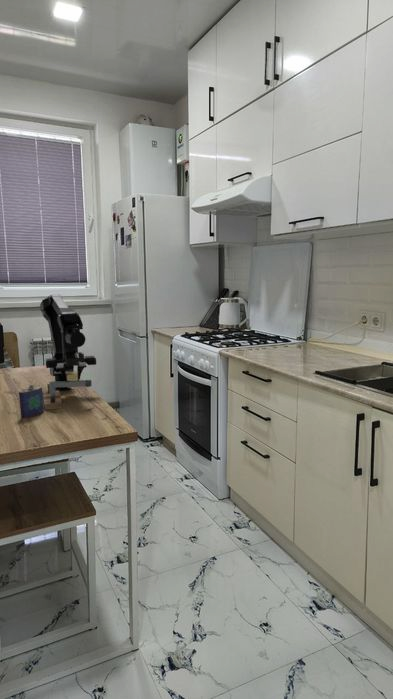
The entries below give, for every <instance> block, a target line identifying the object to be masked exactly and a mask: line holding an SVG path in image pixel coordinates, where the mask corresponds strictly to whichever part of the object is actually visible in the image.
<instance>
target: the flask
mask: <svg viewBox="0 0 393 699" xmlns="http://www.w3.org/2000/svg"><path fill="white" fill-rule="evenodd" d="M28 386H29V387H27V388H25V389H22V390H20V391H18V395H19V396H18V398H19V408H20V418H21V419H23V420H24V419H29V418H32V417H36V416H38V415H41V414H43V413H45V412H44V411H45V407H44V399H43V387H42V386H36V387H35V384H28Z"/></svg>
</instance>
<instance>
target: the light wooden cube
mask: <svg viewBox="0 0 393 699" xmlns="http://www.w3.org/2000/svg"><path fill="white" fill-rule="evenodd" d="M66 379H67V381H78V374H77V370H76V371H74V372H66ZM68 388H71V389H72V387H68Z"/></svg>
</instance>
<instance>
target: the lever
mask: <svg viewBox="0 0 393 699" xmlns="http://www.w3.org/2000/svg"><path fill="white" fill-rule="evenodd" d="M48 384H49V386H50V401H51V402H55V401H56V398H55V387H71V388H78V387H81V388H82V387H86V388H88V387H89V388H90V387H92V386H93V384H92V379H86V380H79V381H55V380H54V381H49V382H48Z"/></svg>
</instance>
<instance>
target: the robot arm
mask: <svg viewBox="0 0 393 699" xmlns="http://www.w3.org/2000/svg"><path fill="white" fill-rule="evenodd" d="M64 300H65V299H63V296H62V295H61V294H51V295H48V297H45V298H44V299H41V302H40V303H39V308H40V310H39V311H40V312H41V313H42V316H43V318H44V319H45V320H46V321H47V323H48V328H49V332H50V338H51V343H52V348H53V355H52V357H49V358H46V359H45V368H46V369H49V374H50V375H51V376H52V377H54V381H67V379H66V372H74V368H75V366H76V368H77V369H76V372H77V374H78V381H80V379H81V375H82V373H83V370H84V369H85V368H87V367H88V366H95V365H97V357H95V356H94V355H85V353H84V352H83V351H79V348H81V347H82V346H83V345H85V342H86V336H85V334H84V333H83V332H82V331H81V330H83V328H84V326H83V325H84V323H83V321H82V318H81V317H80V314H79V313H78V312H77V310H75V309H72V308H69V306H68V305H67V303H66V302H65V301H64ZM71 389H72V387H71V388H68V387H55V391H58V390H59V391H65V390H66V391H67V390H71Z"/></svg>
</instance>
